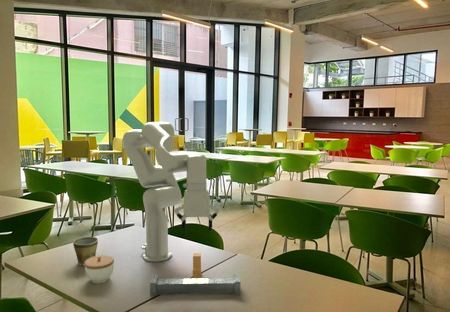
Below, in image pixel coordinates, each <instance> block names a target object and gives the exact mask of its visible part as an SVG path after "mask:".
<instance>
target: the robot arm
mask: <svg viewBox="0 0 450 312" xmlns="http://www.w3.org/2000/svg"><path fill="white" fill-rule="evenodd" d="M174 136H175V128H174V126H173V125H172V124H171V123H170V122H168V121H150V122H147V123H145V124H143V126H142V127H141V129H131V130H128V131H126V132H124V134H123V136H122V147H123V149H124V152H125V154H126V156H127V158H128V160H129V161H130V163H131V164H132V166H133V170H134V172H135V174H136V177H137V180H138V181H139V183H140V185H141V187H142V188H144V189H145V188H146V189H147V188H148V189H147V190H145V192H143V195H142V201H143V206H144V213H145V214H144V215H145V234H146V235H145V238H146V239H145V240H146V243H144V242H143V245H142V246H141V250H144V253H143V256H142V257H143V260H145V261H147V262H152V263H155V262H156V263H158V262H163V261H168V260H169V259H171V257H172V251H170V250H169V237H168V236H169V235H168V234H169V233H168V232H169V229H168V223H169V222H168V221H169V220H168V217H167V214H166V212H165V211H164V208H169V207H174V206H177V205H179V204H180V203H181V202H182V201H181V200H182V192H181V188H180V186H179V184H178V181H177V179H176V177H175V174H176V173H182V172H184V173H185V172H186V182H185V183H182V187H183V188H185V190H184V193H183V204H181V205H179V206H177V207H176V208H174V213H175V214H176V217H177V218H178V219H179V220H180V221H181V229H183V232H186V230H187V218H208V231H209V232H211V231H212V230H211V229H213V220H215V218H216V217H217V216H218V214H219V212H220V208H219V207H217V206H216V205H213V204H212V203H211V200H210V192H209V189H207V157H206V155H205V154H202V153H195V152H192V151H185V152H173V153H170V152H171V151H172V150H173V148H174V146H175V139H174ZM141 148H153V149H154V150H155V153H154V155H155V160H156V163H158V165H154V163H153V161H152V159H151V157H150V156H149V154H148V153H147V152H146V151H144V150H143V149H141ZM181 210H183V214H181V213H180V211H181ZM211 210H213V211H214V212H213V213H211Z"/></svg>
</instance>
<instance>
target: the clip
mask: <svg viewBox="0 0 450 312" xmlns="http://www.w3.org/2000/svg"><path fill="white" fill-rule="evenodd" d="M201 275H202V252H201V253H200V252H197V253H196V252H193V254H192V278H201V277H202V276H201Z"/></svg>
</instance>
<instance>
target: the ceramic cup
mask: <svg viewBox="0 0 450 312" xmlns="http://www.w3.org/2000/svg"><path fill="white" fill-rule="evenodd" d="M98 241H99V239H98V238H97V237H95V236H83V237H79V238H76V239H74V240H73V241H72V244H73V248H74V251H75V255H76V259H77V264H78V265H79V266H81V265H83V266H82V267H85V264H84V263H85V261H86V260H87V259H89V258H91V257H95V256H97V255H96V254H97V248H98V243H99V242H98Z"/></svg>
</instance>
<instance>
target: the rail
mask: <svg viewBox="0 0 450 312" xmlns="http://www.w3.org/2000/svg"><path fill="white" fill-rule="evenodd" d="M149 287H150V288H149V289H150V297H157V296H159V295H161V296H165V295H166V296H167V295H170V296H171V295H219V294H221V295H222V294H223V295H224V294H225V295H229V294H232V295H233V294H234V295H235V296H240V295H241V276H240V274H239V273H234V274H233V277H222V278H221V277H220V278H219V277H213V278H212V277H209V278H208V277H205V278H204V277H202V278H193V277H192V278H191V277H189V278H159V275H158V274H157V275H155V274H153V275H152V277H151V280H150V284H149Z"/></svg>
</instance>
